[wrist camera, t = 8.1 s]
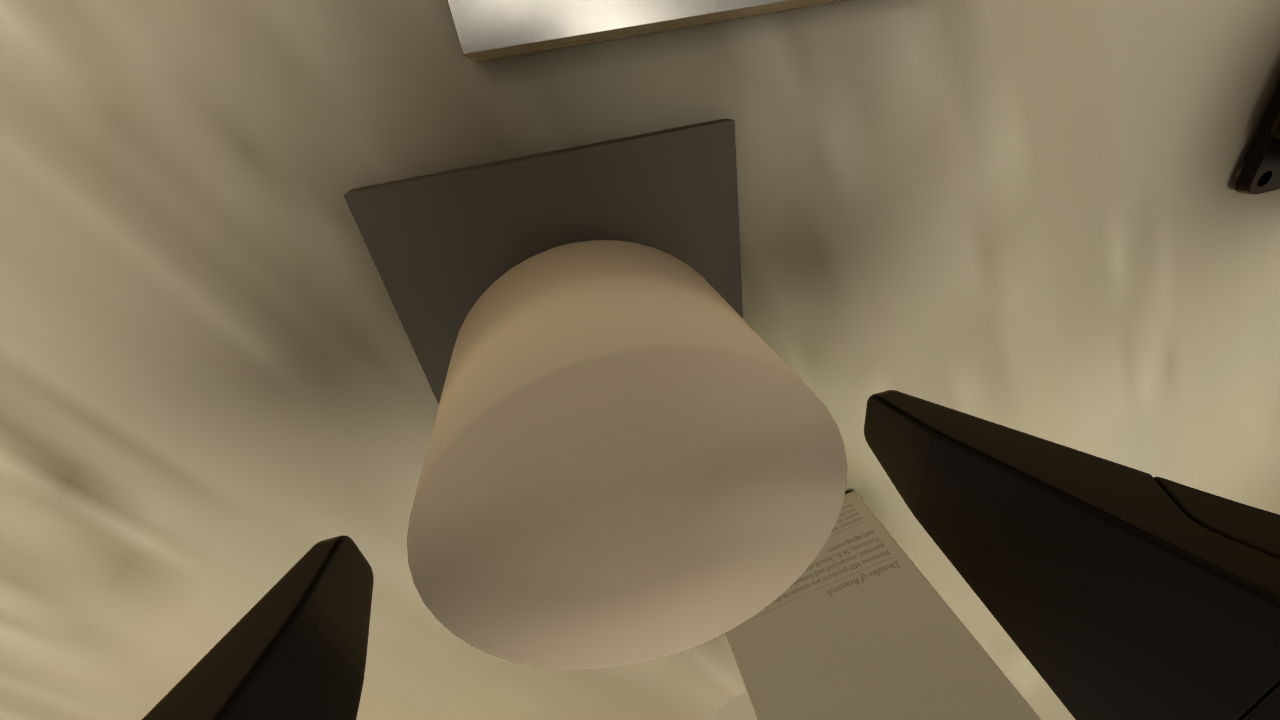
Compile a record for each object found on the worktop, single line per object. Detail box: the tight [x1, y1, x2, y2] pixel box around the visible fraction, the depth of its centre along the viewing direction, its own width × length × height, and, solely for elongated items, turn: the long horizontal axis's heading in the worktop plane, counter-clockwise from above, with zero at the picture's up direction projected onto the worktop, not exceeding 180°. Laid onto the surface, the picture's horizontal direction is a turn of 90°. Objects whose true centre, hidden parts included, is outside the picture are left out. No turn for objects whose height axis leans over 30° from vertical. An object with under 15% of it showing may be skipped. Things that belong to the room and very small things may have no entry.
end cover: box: [407, 240, 847, 670], centre depth 10 cm, size 6×6×7 cm
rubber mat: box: [344, 119, 743, 403], centre depth 14 cm, size 9×9×1 cm
